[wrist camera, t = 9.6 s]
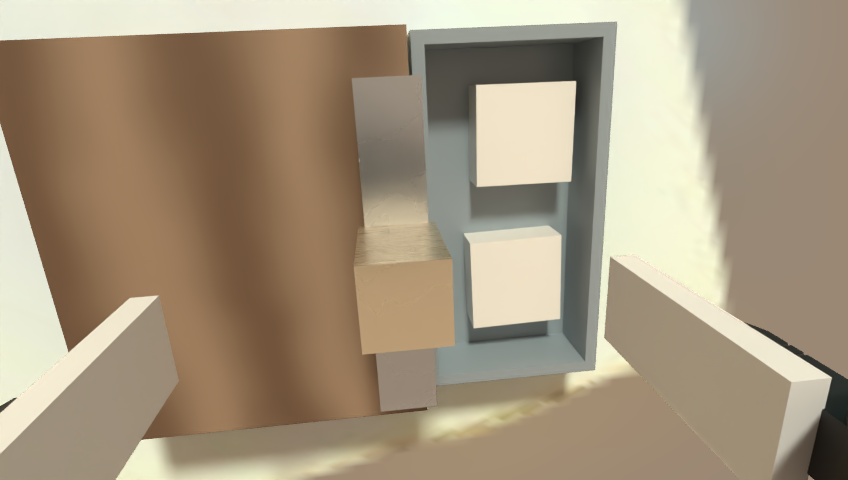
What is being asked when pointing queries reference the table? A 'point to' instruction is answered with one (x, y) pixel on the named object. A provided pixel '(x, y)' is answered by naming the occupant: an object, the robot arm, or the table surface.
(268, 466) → the table surface
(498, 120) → the tile
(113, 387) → the robot arm
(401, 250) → the gray bar with knob
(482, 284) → the tile
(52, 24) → the table surface
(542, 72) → the box
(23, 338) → the table surface
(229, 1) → the table surface
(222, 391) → the wood grain panel
